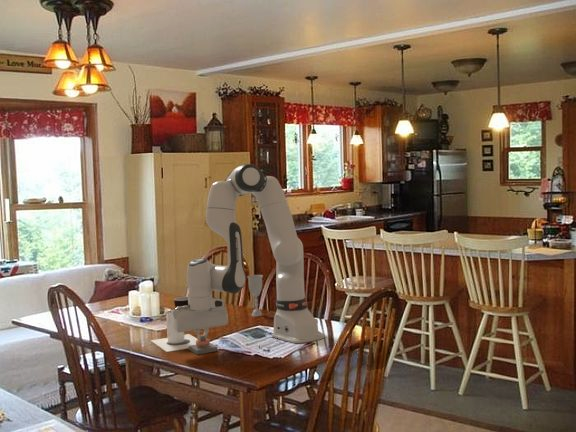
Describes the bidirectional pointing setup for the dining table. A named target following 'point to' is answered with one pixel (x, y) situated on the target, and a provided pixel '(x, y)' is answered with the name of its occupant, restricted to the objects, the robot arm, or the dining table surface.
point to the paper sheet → (174, 347)
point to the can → (173, 330)
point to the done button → (202, 342)
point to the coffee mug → (180, 301)
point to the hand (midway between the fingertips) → (202, 340)
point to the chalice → (255, 291)
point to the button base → (203, 349)
